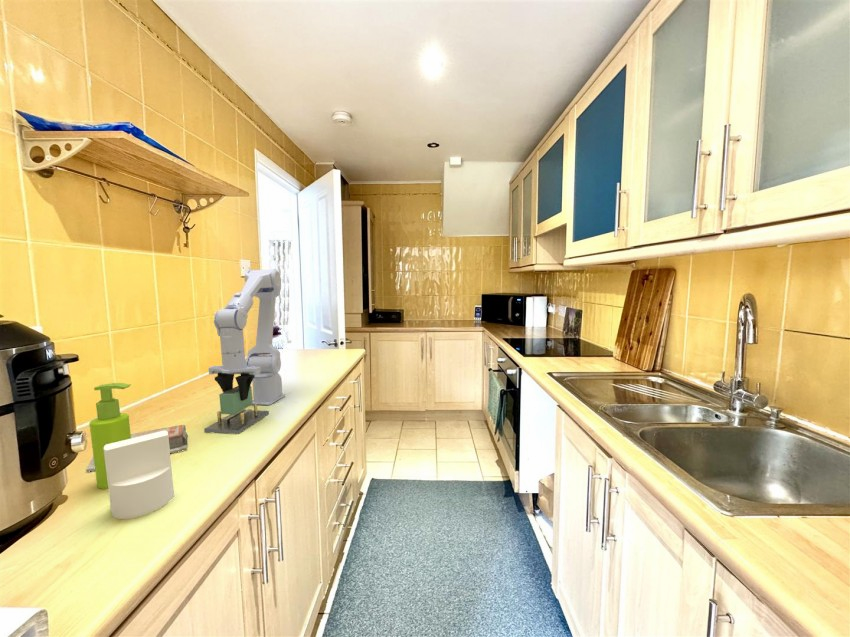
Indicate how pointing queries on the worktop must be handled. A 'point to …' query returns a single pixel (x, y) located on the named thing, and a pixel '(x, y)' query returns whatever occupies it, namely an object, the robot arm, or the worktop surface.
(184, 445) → the packaged product
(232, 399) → the block
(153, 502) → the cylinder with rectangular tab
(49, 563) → the worktop surface
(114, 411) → the soap dispenser
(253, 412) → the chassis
